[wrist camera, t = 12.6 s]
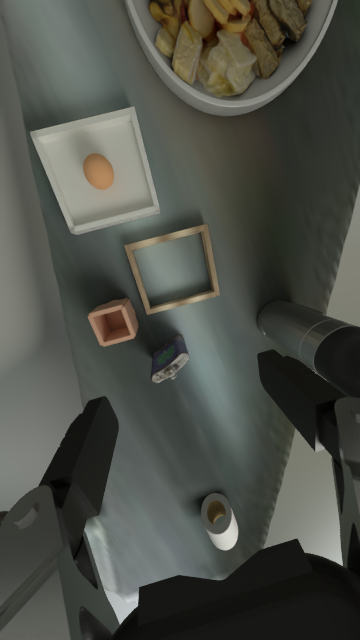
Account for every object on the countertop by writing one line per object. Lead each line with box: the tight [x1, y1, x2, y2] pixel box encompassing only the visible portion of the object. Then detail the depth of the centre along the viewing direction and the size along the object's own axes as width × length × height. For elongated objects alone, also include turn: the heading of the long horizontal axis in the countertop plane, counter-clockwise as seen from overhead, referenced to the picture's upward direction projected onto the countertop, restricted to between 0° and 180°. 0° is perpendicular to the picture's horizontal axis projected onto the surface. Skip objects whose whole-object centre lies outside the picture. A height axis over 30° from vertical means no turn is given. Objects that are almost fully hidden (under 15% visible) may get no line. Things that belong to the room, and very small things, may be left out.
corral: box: [124, 224, 220, 315], centre depth 38 cm, size 16×14×2 cm
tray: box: [30, 107, 160, 235], centre depth 31 cm, size 16×14×3 cm
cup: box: [88, 298, 138, 347], centre depth 37 cm, size 7×7×7 cm
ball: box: [83, 153, 114, 190], centre depth 29 cm, size 4×4×4 cm
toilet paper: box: [201, 493, 238, 550], centre depth 61 cm, size 10×10×10 cm
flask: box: [151, 335, 189, 383], centre depth 39 cm, size 9×3×11 cm, turn 129°
